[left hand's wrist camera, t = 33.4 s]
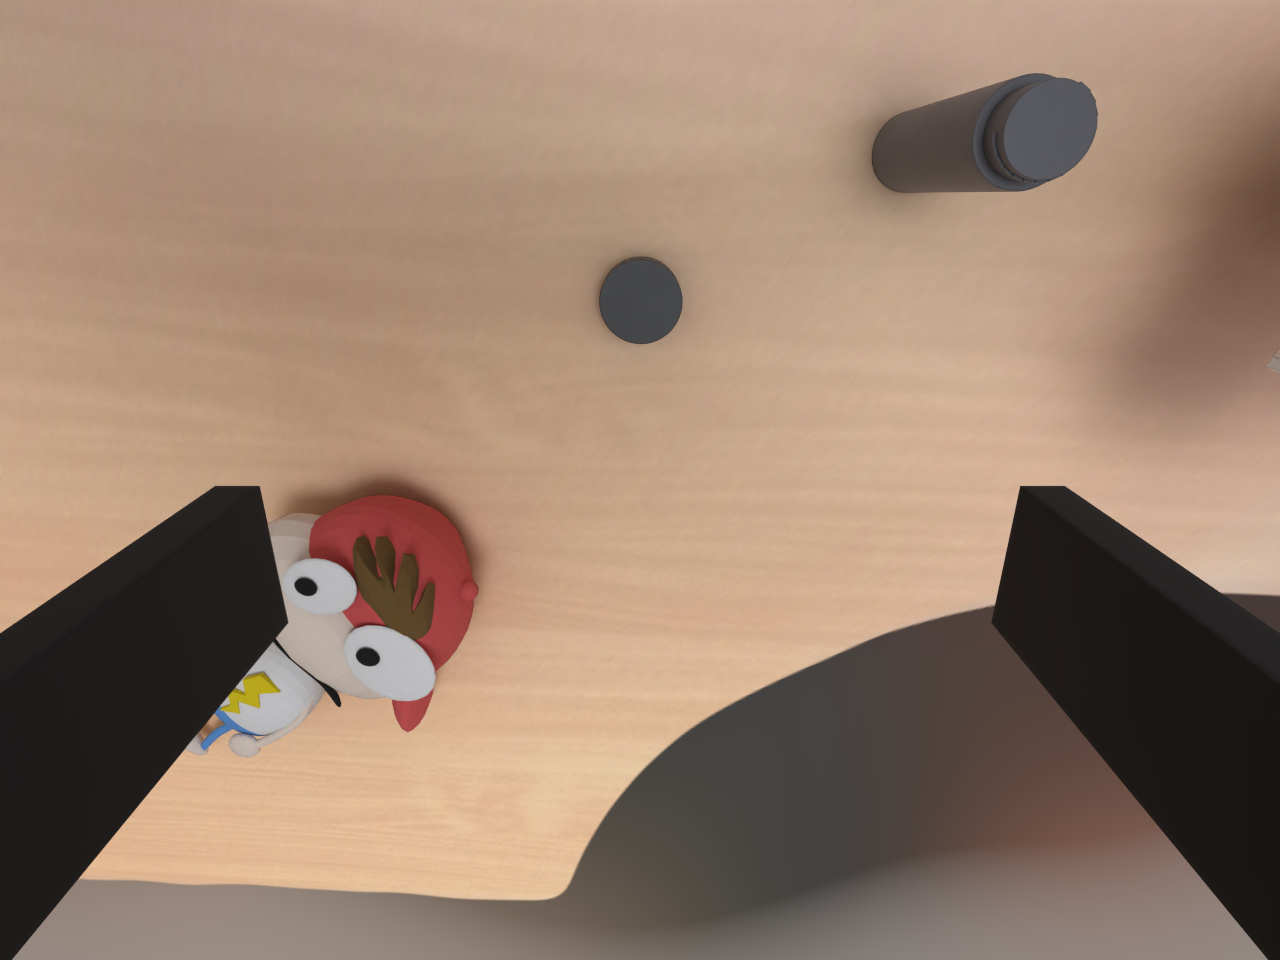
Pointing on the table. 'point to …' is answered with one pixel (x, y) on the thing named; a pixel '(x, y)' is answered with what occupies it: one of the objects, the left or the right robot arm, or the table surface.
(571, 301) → the table surface
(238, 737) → the toy
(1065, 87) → the dark grey bottle
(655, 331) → the lid
